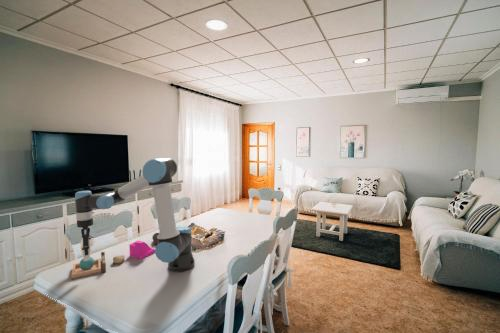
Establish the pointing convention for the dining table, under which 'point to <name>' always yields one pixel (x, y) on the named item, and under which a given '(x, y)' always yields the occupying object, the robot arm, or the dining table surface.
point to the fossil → (155, 238)
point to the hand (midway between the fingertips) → (87, 255)
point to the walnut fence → (103, 262)
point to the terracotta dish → (78, 272)
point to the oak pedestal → (118, 259)
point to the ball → (86, 264)
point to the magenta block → (140, 249)
